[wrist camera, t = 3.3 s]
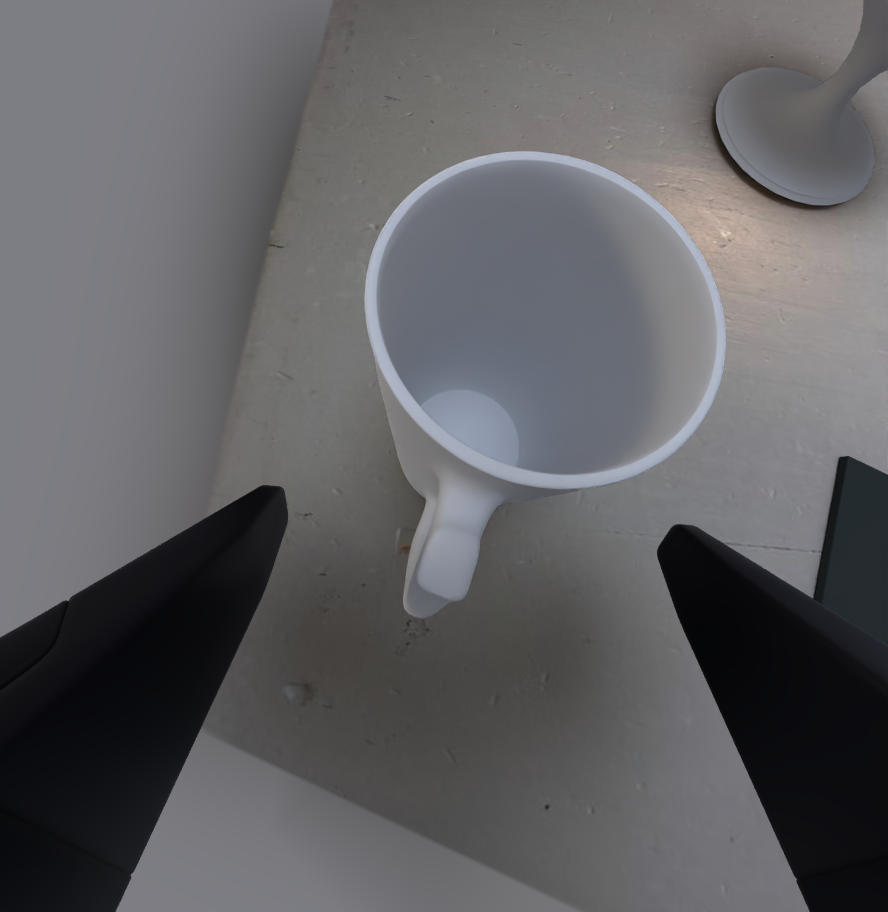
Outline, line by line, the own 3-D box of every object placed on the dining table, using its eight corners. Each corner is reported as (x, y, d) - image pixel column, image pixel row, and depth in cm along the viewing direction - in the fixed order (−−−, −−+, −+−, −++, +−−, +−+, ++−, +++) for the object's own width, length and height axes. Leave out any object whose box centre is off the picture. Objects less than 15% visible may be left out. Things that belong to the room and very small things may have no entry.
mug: (423, 368, 19) (449, 100, 7) (539, 415, 19) (755, 229, 7) (343, 549, 16) (183, 601, 5) (475, 602, 17) (637, 780, 5)
